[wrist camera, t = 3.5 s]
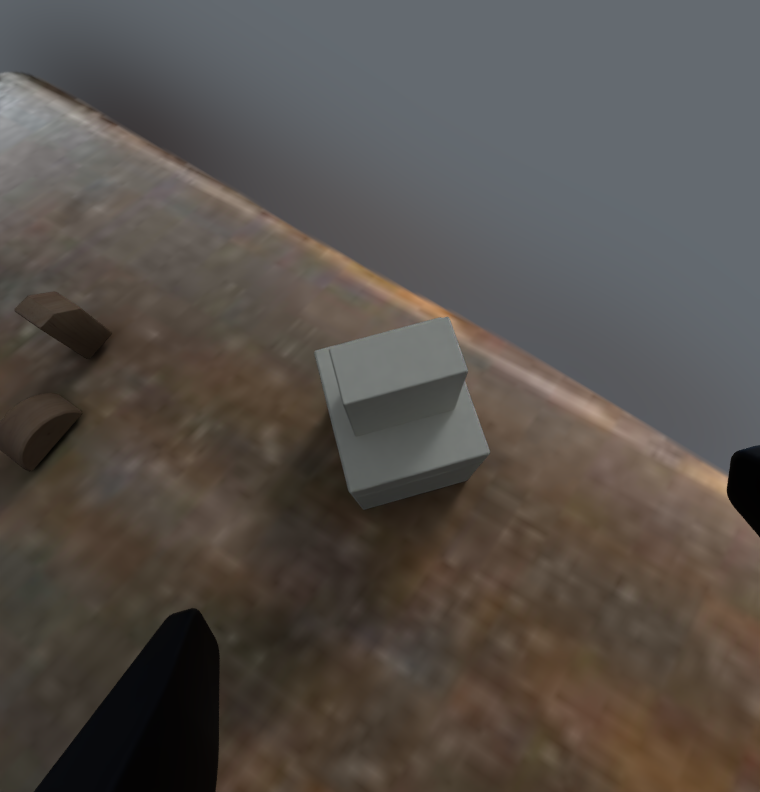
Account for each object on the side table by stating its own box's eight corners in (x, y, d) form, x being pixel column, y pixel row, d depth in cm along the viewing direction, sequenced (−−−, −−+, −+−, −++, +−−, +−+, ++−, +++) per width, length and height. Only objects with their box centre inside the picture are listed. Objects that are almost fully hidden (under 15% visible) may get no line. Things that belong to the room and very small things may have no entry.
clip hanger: (468, 480, 19) (515, 425, 11) (362, 510, 19) (334, 476, 11) (432, 373, 21) (452, 258, 13) (334, 399, 21) (291, 300, 13)
